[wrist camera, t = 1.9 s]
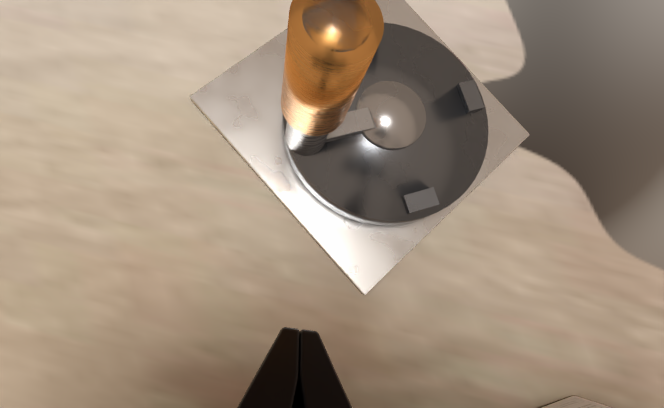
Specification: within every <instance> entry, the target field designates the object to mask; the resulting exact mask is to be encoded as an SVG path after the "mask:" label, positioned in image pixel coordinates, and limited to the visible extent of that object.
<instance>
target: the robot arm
mask: <svg viewBox="0 0 664 408" xmlns="http://www.w3.org/2000/svg"><path fill="white" fill-rule="evenodd" d="M237 408H352V407H351V405H350V402H349V400H348V398H347V396H346V393H345V391H344V389H343V387H342V385H341V382H340V380H339V378H338V376H337V373H336V371H335V369H334V367H333V365H332V362H331V360H330V358H329V356H328V354H327V351H326V349H325V347H324V345H323V342H322V340H321V338H320V336H319V334H318V333H317V332H316V331H310V330H301V331H300V332H299V330H298V329H295V328H287V327H284V328H282V329H281V330H280V332H279V334H278V336H277V338H276V339H275V341H274V343H273V345H272V347H271V348H270V350H269V352H268V354H267V355H266V357H265V359H264V361H263V363H262V364H261V366H260V368H259V370H258V372H257V373H256V375H255V377H254V379H253V380H252V382H251V384H250V386H249V388H248V389H247V391H246V393H245V395H244V397H243V398H242V400H241V402H240V404H239V406H238V407H237Z"/></svg>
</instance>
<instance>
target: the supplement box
mask: <svg viewBox="0 0 664 408" xmlns="http://www.w3.org/2000/svg"><path fill="white" fill-rule="evenodd" d="M541 408H612V407H609V406H606V405H603V404H600V403H597V402H594V401H591V400H588V399H584V398H581V397H578V396H571V397H568V398H566V399H563V400H560V401H557V402H555V403H552V404H549V405H547V406H544V407H541Z"/></svg>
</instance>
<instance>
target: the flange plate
mask: <svg viewBox="0 0 664 408" xmlns="http://www.w3.org/2000/svg"><path fill="white" fill-rule="evenodd" d="M375 1H376V2H377V4H378V6H379V7H380V10H381V12H382V15H383V20H384V23H392V24H398V25H402V26H406V27H409V28H412V29H415V30H417V31H420V32H422V33H424V34H426V35H428V36H430V37H432V38H433V39H435V40H436V41H438V42H439V43H441V44H443V45H444V46H445V47H446V48H447V49H449V48H448V47H447V45H446V44H445V43H444V42H443V41H442V40H441V39H440V38H439V37H438V36H437V35H436V34H435V33H434V32H433V30H432V29H431V28H430V27H429V26H428V25H427V24H426V23H425V22H424V21H423V20H422V19H421V18H420V17H419V15H418V14H417V13H416V12H415V11H414V10H413V9H412V8H411V7H410V6H409V5H408V4H407V3H406V2H405V0H375ZM287 31H288V28H287V29H286V30H284V31H283V32H282V33H280V34H279V35H277V36H276V37H274V38H273V39H271V40H270V41H269V42H267V43H266V44H264V45H263V46H261V47H260V48H258V49H257V50H256V51H254V52H253V53H251V54H250V55H248V56H247V57H246V58H244V59H243V60H241V61H240V62H238V63H237V64H235V65H234V66H233V67H231V68H230V69H228V70H227V71H225V72H224V73H222V74H221V75H220V76H218V77H217V78H215V79H214V80H212V81H211V82H210V83H208V84H207V85H205V86H204V87H202V88H201V89H199V90H198V91H197V92H195V93H194V94H192V95H191V96H190V99H191V101H192V102H193V103H194V104H195V105H196V106H197V107H198V109H199V110H200V111H201V112H202V113H203V114H204V115H205V116H206V118H207V119H208V120H209V121H210V122H211V123H212V124H213V126H214V127H215V128H216V129H217V130H218V131H219V132H220V133H221V135H222V136H223V137H224V138H225V139H226V140H227V141H228V143H229V144H230V145H231V146H232V147H233V148H234V149H235V150H236V152H237V153H238V154H239V155H240V156H241V157H242V158H243V159H244V161H245V162H246V163H247V164H248V165H249V166H250V167H251V169H252V170H253V171H254V172H255V173H256V174H257V175H258V176H259V178H260V179H261V180H262V181H263V182H264V183H265V184H266V186H267V187H268V188H269V189H270V190H271V191H272V192H273V193H274V195H275V196H276V197H277V198H278V199H279V200H280V201H281V202H282V204H283V205H284V206H285V207H286V208H287V209H288V210H289V212H290V213H291V214H292V215H293V216H294V217H295V218H296V219H297V221H298V222H299V223H300V224H301V225H302V226H303V227H304V229H305V230H306V231H307V232H308V233H309V234H310V235H311V236H312V238H313V239H314V240H315V241H316V242H317V243H318V244H319V246H320V247H321V248H322V249H323V250H324V251H325V252H326V253H327V255H328V256H329V257H330V258H331V259H332V260H333V261H334V262H335V264H336V265H337V266H338V267H339V268H340V269H341V270H342V272H343V273H344V274H345V275H346V276H347V277H348V278H349V279H350V281H351V282H352V283H353V284H354V285H355V286H356V287H357V289H358V290H359V291H360V292H361V293H362V294H363V295H365V294H366V293H367V292H368V291H369V290H370V289H371V288H372V287H373V286H375V285H376V284H377V283H378V282H379V281H380V280H381V279H382V278H383V277H384V276H385V275H386V274H387V273H388V272H389V271H390V270H391V269H392V268H393V267H394V266H395V265H396V264H397V263H398V262H399V261H400V260H401V259H402V258H403V257H404V256H405V255H406V254H407V253H408V252H410V251H411V250H412V249H413V248H414V247H415V246H416V245H417V244H418V243H419V242H420V241H421V240H422V239H423V238H424V237H425V236H426V235H427V234H428V233H429V232H430V231H431V230H432V229H433V228H434V227H435V226H436V225H437V224H438V223H439V222H440V221H441V220H442V219H444V218H445V217H446V216H447V215H448V214H449V213H450V212H451V211H452V210H453V209H454V208H455V207H456V206H457V205H458V204H459V203H460V202H461V201H462V200H463V199H464V198H465V197H466V196H467V195H468V194H469V193H470V192H471V191H472V190H473V189H474V188H475V187H476V186H477V185H479V184H480V183H481V182H482V181H483V180H484V179H485V178H486V177H487V176H488V175H489V174H490V173H491V172H492V171H493V170H494V169H495V168H496V167H497V166H498V165H499V164H500V163H501V162H502V161H503V160H504V159H505V158H506V157H507V156H508V155H509V154H510V153H511V152H512V151H514V150H515V149H516V148H517V147H518V146H519V145H520V144H521V143H522V142H523V141H524V140H525V139H526V138H527V137H528V136H529V133H528V132H527V131H526V130H525V129H524V128H523V127H522V126H521V125H520V124H519V123H518V122H517V120H516V119H515V118H514V117H513V116H512V115H511V114H510V113H509V112H508V111H507V110H506V109H505V108H504V107H503V105H502V104H501V103H500V102H499V101H498V100H497V99H496V98H495V97H494V96H493V95H492V94H491V93H490V92H489V90H488V89H487V88H486V87H485V86H484V85H483V84H482V83H481V82H480V81H479V80H478V79H477V78H476V77H475V75H474V74H473V73H472V72H471V71H470V70H469V69H468V68H467V67H466V66H465V65H464V66H465V67H466V68H467V70H468V71H469V72H470V74H471V76H472V77H473V79H474V80H475V82H476V84H477V86H478V88H479V90H480V93H481V95H482V98H483V101H484V104H485V107H486V113H487V118H488V145H487V150H486V155H485V158H484V161H483V164H482V166H481V169H480V171H479V173H478V175H477V177H476V178H475V180H474V181H473V183H472V184H471V185H470V187H469V188H468V190H467V191H466V192H465V193H464V194H463V195H462V196H461V197H460V198H459V199H457V200H456V201H455V202H453V203H452V204H451V205H449V206H448V207H446V208H444V209H442V210H441V211H439V212H437V213H435V214H433V215H431V216H428V217H426V218H424V219H421V220H418V221H416V222H412V223H408V224H403V225H393V226H381V225H372V224H366V223H361V222H358V221H355V220H352V219H349V218H347V217H345V216H343V215H341V214H339V213H337V212H335V211H333V210H332V209H330V208H329V207H327V206H326V205H324V204H323V203H322V202H321V201H319V200H318V199H317V198H316V197H315V196H314V195H313V194H312V193H311V192H310V191H309V190H308V189H307V188H306V187H305V185H304V184H303V183H302V181H301V180H300V178H299V177H298V176H297V174H296V172H295V170H294V168H293V167H292V165H291V163H290V160H289V157H288V155H287V152H286V149H285V144H284V140H283V131H282V115H283V113H282V109H281V93H282V83H283V72H284V62H285V52H286V41H287ZM449 50H450V49H449ZM450 51H451V50H450ZM451 52H452V51H451ZM452 53H453V52H452ZM453 54H454V53H453ZM454 55H455V54H454ZM455 56H456V55H455ZM456 57H457V56H456ZM457 58H458V57H457ZM458 59H459V58H458ZM459 60H460V59H459ZM460 61H461V60H460Z"/></svg>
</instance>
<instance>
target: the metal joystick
mask: <svg viewBox="0 0 664 408" xmlns="http://www.w3.org/2000/svg"><path fill="white" fill-rule="evenodd" d="M281 109H282V113H283V115H282V131H283V140H284V144H285V149H286V152H287V155H288V157H289V160H290V163H291V165H292V167H293V168H294V170H295V172H296V174H297V176H298V177H299V178H300V180H301V181H302V183H303V184H304V185H305V187H306V188H307V189H308V190H309V191H310V192H311V193H312V194H313V195H314V196H315V197H316V198H317V199H318V200H319V201H321V202H322V203H323V204H324V205H326V206H327V207H329V208H330V209H332V210H333V211H335V212H337V213H339V214H341V215H343V216H345V217H347V218H349V219H352V220H355V221H358V222H361V223H366V224H372V225H381V226H393V225H403V224H408V223H412V222H416V221H418V220H421V219H424V218H426V217H428V216H431V215H433V214H435V213H437V212H439V211H441V210H442V209H444V208H446V207H448V206H449V205H451V204H452V203H453V202H455V201H456V200H457V199H459V198H460V197H461V196H462V195H463V194H464V193H465V192H466V191H467V190H468V188H469V187H470V185H471V184H472V183H473V181H474V180H475V178H476V177H477V175H478V173H479V171H480V169H481V166H482V164H483V161H484V158H485V155H486V150H487V145H488V118H487V113H486V107H485V104H484V101H483V98H482V95H481V93H480V90H479V88H478V86H477V84H476V82H475V80H474V79H473V77H472V76H471V74H470V72H469V71H468V70H467V68H466V67H465V66H464V64H463V63H462V62H461V61H460V60H459V59H458V58H457V57H456V56H455V55H454V54H453V53H452V52H451V51H450V50H449V49H447V48H446V47H445V46H444V45H443V44H441V43H439V42H438V41H436V40H435V39H433V38H432V37H430V36H428V35H426V34H424V33H422V32H420V31H417V30H415V29H412V28H409V27H406V26H402V25H398V24H392V23H384V20H383V15H382V12H381V10H380V7H379V6H378V4H377V2H376V1H375V0H293V1H292V3H291V6H290V11H289V21H288V31H287V41H286V52H285V62H284V72H283V83H282V93H281Z"/></svg>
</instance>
